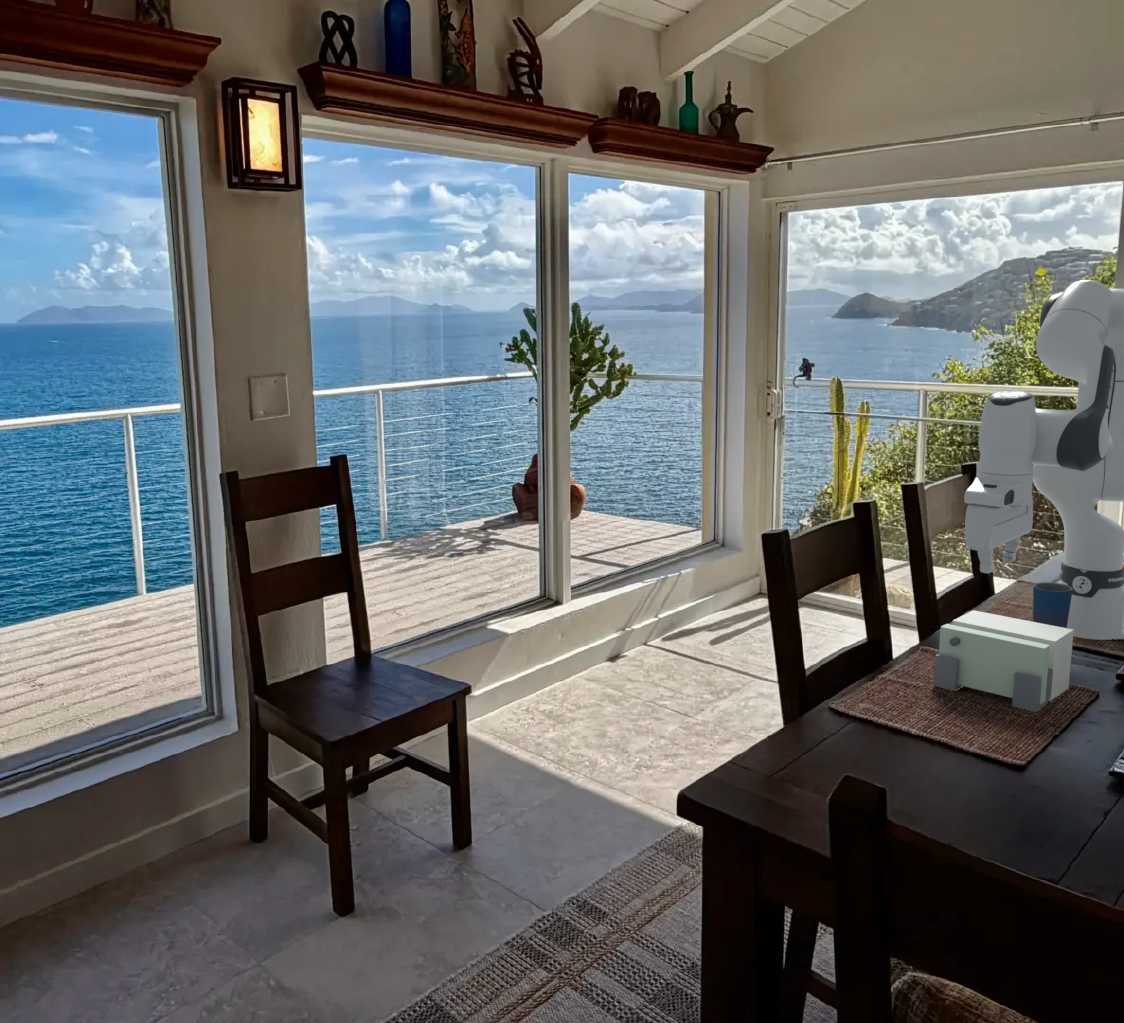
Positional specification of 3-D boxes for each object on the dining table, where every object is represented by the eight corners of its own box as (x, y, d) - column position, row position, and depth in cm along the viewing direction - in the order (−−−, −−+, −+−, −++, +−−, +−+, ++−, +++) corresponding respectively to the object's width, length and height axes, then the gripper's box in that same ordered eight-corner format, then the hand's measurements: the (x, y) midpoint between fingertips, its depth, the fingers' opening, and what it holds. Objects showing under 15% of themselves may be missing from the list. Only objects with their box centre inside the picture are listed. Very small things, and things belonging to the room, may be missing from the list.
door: (943, 676, 186) (946, 623, 185) (1045, 700, 174) (1050, 645, 172) (934, 681, 184) (937, 628, 182) (1037, 706, 171) (1041, 650, 170)
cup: (1058, 656, 199) (1064, 582, 196) (1071, 668, 193) (1078, 591, 190) (1022, 655, 200) (1028, 582, 197) (1034, 667, 193) (1040, 591, 190)
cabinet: (969, 665, 195) (973, 610, 193) (1068, 688, 182) (1073, 629, 180) (933, 686, 184) (936, 628, 182) (1036, 712, 172) (1041, 650, 169)
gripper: (1008, 478, 182) (1003, 553, 185) (959, 494, 168) (954, 575, 170) (1045, 481, 177) (1039, 558, 180) (998, 498, 163) (992, 582, 166)
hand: (997, 566), depth 175 cm, fingers open, 8 cm apart
